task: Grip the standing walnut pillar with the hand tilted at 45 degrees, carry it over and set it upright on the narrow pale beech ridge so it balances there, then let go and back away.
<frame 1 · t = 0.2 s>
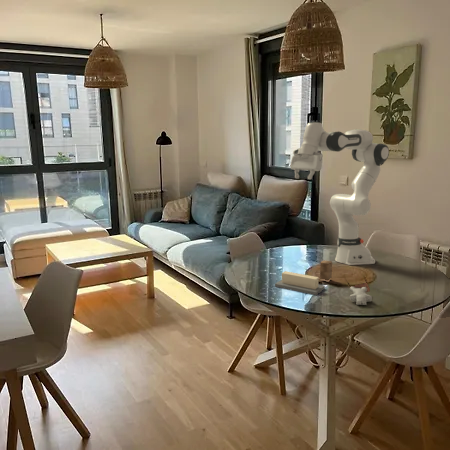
hand: (302, 178, 229), 51 cm above the table, tool tilted 20°, fingers open, 8 cm apart
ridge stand: (299, 287, 218), on the table
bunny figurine: (359, 300, 201), on the table
walnut pillar: (325, 280, 228), on the table
wooden tablet: (356, 284, 224), on the table
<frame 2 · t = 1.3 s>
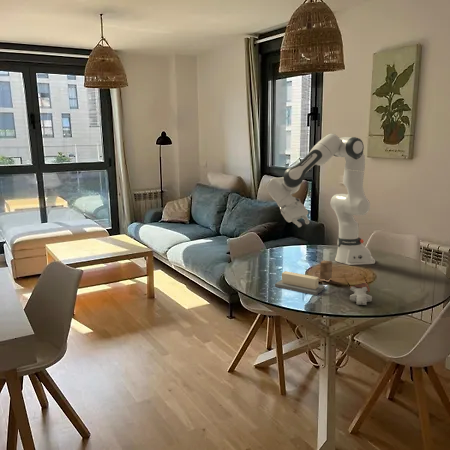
hand: (304, 224, 229), 28 cm above the table, tool tilted 45°, fingers open, 8 cm apart
nothing on the table moved.
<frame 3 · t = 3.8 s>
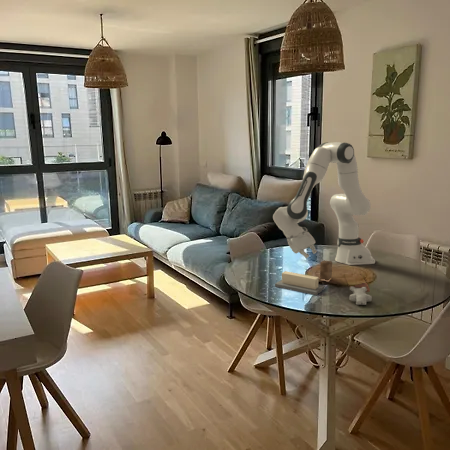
hand: (311, 254, 230), 12 cm above the table, tool tilted 45°, fingers open, 8 cm apart
nothing on the table moved.
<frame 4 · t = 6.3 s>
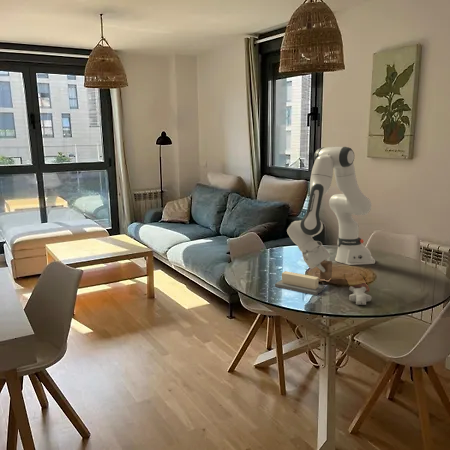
hand: (327, 269, 226), 6 cm above the table, tool tilted 45°, fingers closed on walnut pillar, 4 cm apart
walnut pillar: (325, 280, 228), on the table, touching gripper
everything else where it was.
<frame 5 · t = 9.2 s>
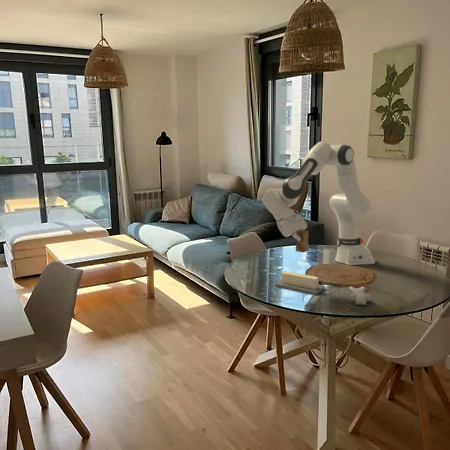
hand: (303, 239, 213), 25 cm above the table, tool tilted 45°, fingers closed on walnut pillar, 4 cm apart
walnut pillar: (301, 250, 215), point 19 cm above the table, touching gripper
everything else where it was.
when the fingers open (13 cm above the table, at t = 12.4 s): walnut pillar stays where it is, resting on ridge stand.
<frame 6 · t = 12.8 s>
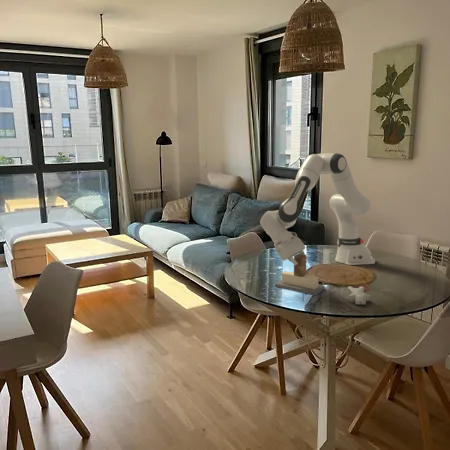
hand: (301, 261, 215), 13 cm above the table, tool tilted 45°, fingers open, 8 cm apart
walnut pillar: (299, 275, 217), point 6 cm above the table, touching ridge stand
everything else where it was.
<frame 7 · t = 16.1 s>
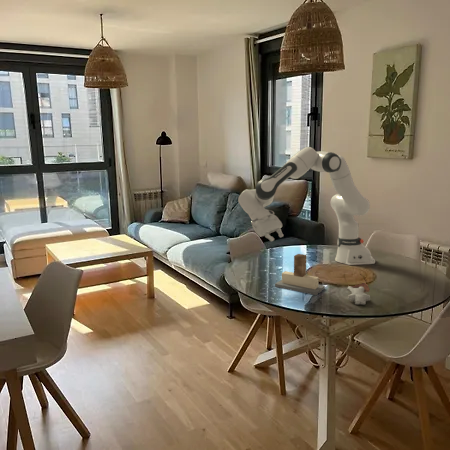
hand: (277, 238, 221), 23 cm above the table, tool tilted 45°, fingers open, 8 cm apart
nothing on the table moved.
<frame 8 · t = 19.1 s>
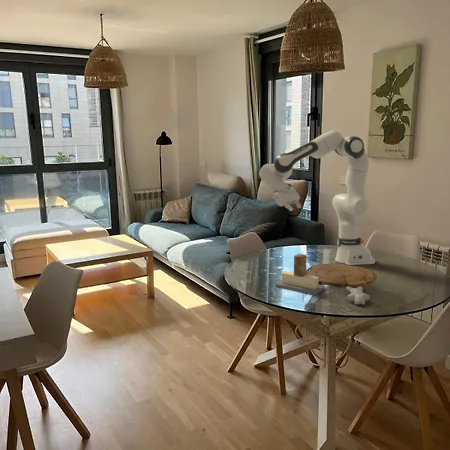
hand: (296, 208, 239), 34 cm above the table, tool tilted 45°, fingers open, 8 cm apart
at the end: walnut pillar 0.1 cm off-centre on the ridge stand, point 6.5 cm above the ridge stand's base; walnut pillar tilted 0°; the gripper is holding nothing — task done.
